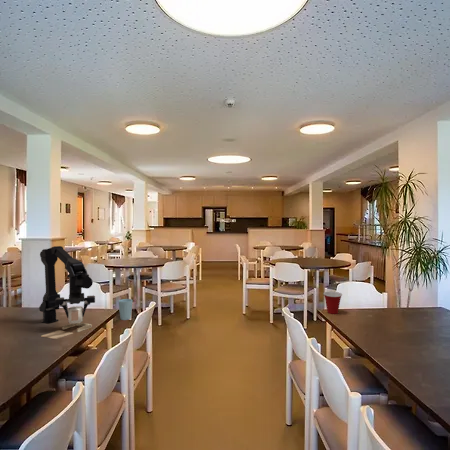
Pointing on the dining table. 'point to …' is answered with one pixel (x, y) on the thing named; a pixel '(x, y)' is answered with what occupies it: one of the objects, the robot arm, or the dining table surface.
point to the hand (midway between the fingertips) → (75, 317)
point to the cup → (125, 308)
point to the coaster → (57, 334)
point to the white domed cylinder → (75, 314)
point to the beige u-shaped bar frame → (84, 325)
